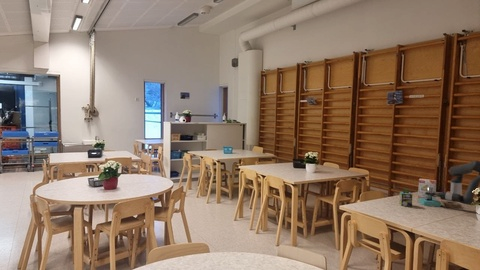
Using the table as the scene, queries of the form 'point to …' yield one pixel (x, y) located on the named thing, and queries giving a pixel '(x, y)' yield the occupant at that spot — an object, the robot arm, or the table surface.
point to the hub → (429, 202)
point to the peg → (430, 190)
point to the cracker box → (423, 187)
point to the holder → (451, 204)
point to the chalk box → (405, 198)
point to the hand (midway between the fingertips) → (426, 192)
